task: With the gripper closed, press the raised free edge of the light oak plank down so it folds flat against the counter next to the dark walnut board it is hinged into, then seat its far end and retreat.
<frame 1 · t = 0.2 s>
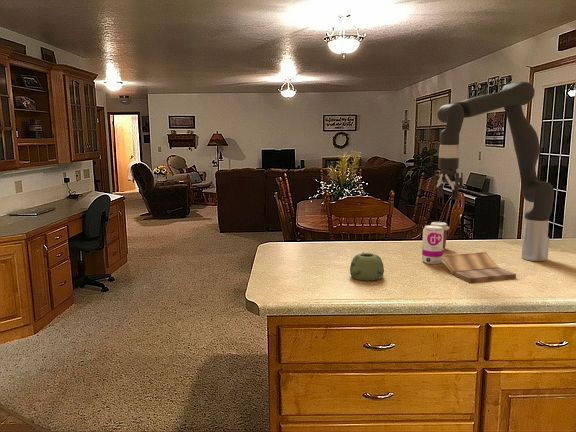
hand: (447, 198, 190), 28 cm above the countertop, fingers open, 8 cm apart
oak plank: (469, 262, 189), point 3 cm above the countertop, hinge at 28.0°
supplement can: (431, 262, 203), on the countertop
green rounded vase: (365, 276, 183), on the countertop
coffee cup: (437, 248, 227), on the countertop
walnut board: (484, 276, 180), on the countertop
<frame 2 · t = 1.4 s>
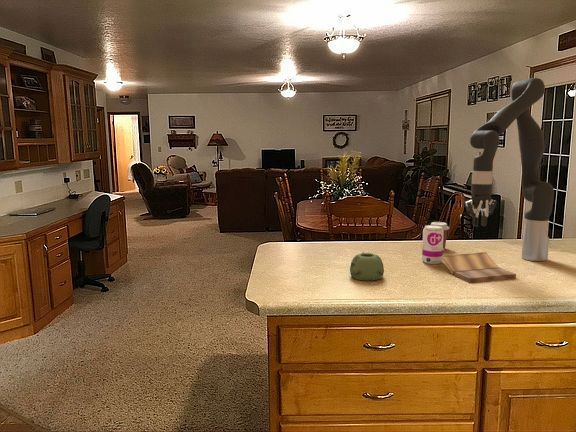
hand: (479, 225, 190), 17 cm above the countertop, fingers open, 3 cm apart
nothing on the countertop moved.
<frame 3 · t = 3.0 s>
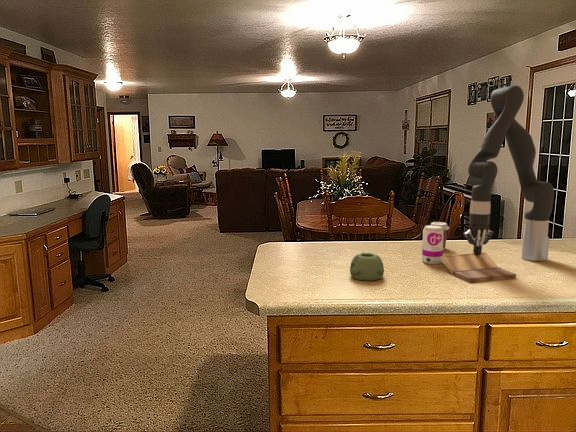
hand: (477, 254, 192), 5 cm above the countertop, fingers closed
oak plank: (469, 262, 189), point 3 cm above the countertop, hinge at 26.9°, touching gripper
everything else where it was.
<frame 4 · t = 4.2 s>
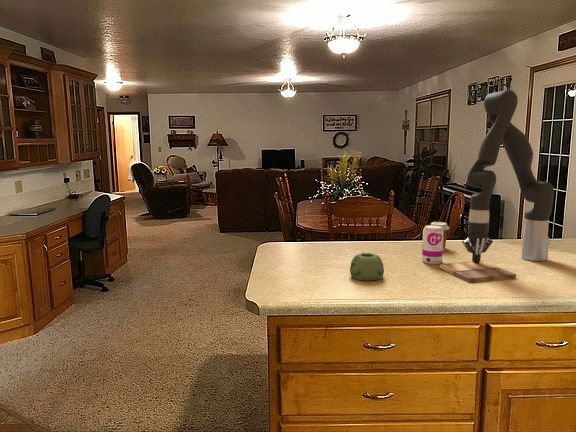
hand: (476, 262, 193), 2 cm above the countertop, fingers closed
oak plank: (469, 267, 189), point 1 cm above the countertop, hinge at 3.0°, touching gripper
everything else where it was.
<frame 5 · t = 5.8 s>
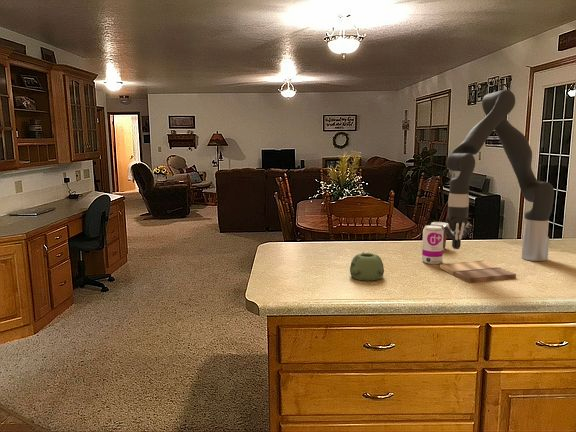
hand: (456, 248, 189), 9 cm above the countertop, fingers closed
oak plank: (469, 267, 189), point 1 cm above the countertop, hinge at 3.0°
everything else where it was.
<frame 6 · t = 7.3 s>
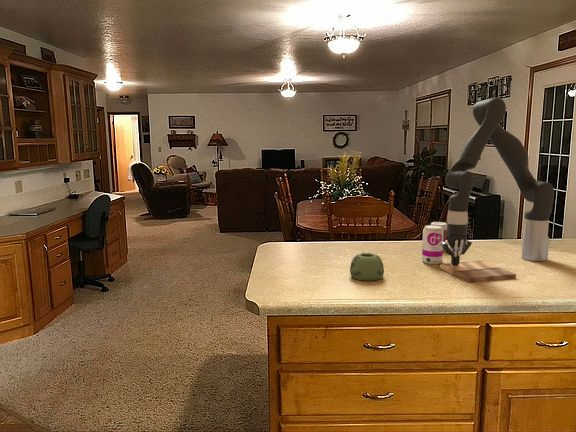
hand: (455, 265, 190), 2 cm above the countertop, fingers closed
oak plank: (469, 267, 189), point 1 cm above the countertop, hinge at 3.0°, touching gripper
everything else where it was.
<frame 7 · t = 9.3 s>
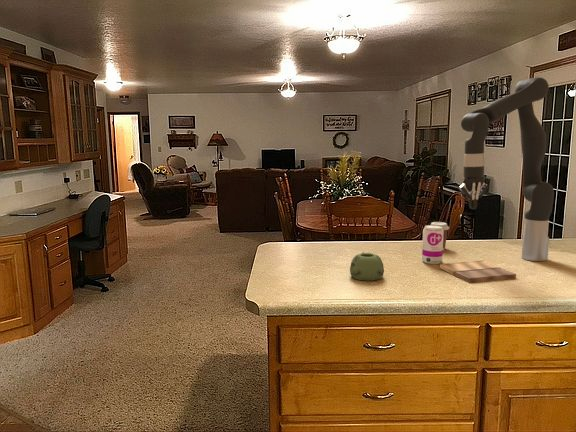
hand: (472, 208, 191), 24 cm above the countertop, fingers closed
oak plank: (469, 267, 189), point 1 cm above the countertop, hinge at 3.0°
everything else where it was.
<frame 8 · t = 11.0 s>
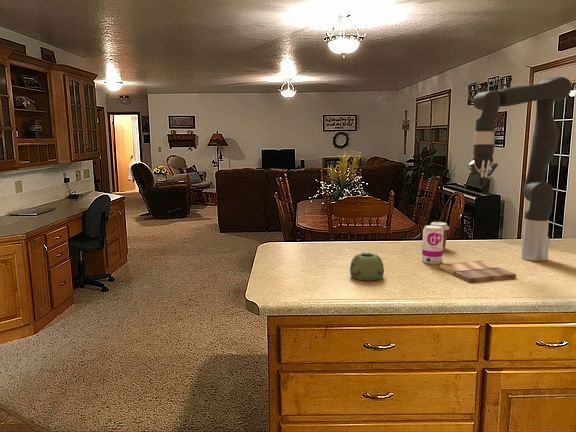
hand: (481, 186, 194), 32 cm above the countertop, fingers closed
nothing on the countertop moved.
at the end: oak plank at +3° (first picture: +28°) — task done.
